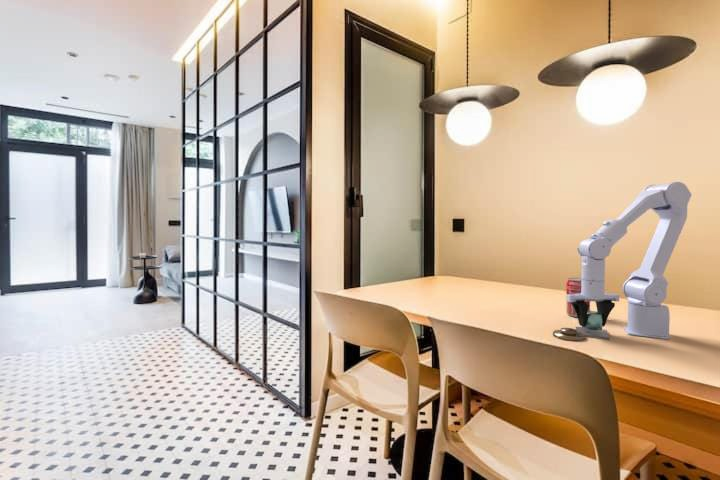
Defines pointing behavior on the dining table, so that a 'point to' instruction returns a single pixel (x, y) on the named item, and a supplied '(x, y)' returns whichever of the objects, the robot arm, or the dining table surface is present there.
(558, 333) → the bronze metal disc
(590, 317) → the teal mug
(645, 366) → the dining table surface
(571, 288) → the soda can
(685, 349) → the dining table surface
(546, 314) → the dining table surface
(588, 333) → the coaster
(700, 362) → the dining table surface
